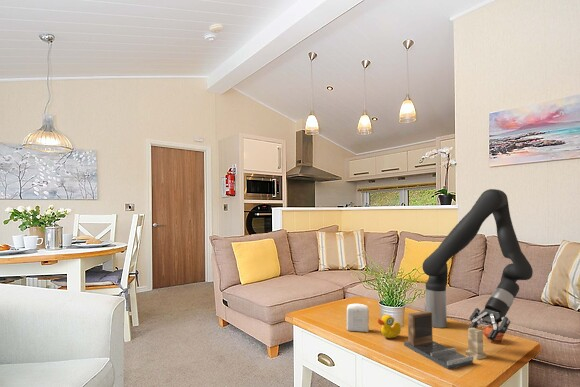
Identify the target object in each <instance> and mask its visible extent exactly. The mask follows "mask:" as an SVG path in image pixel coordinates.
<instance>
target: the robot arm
mask: <svg viewBox="0 0 580 387" xmlns="http://www.w3.org/2000/svg"><path fill="white" fill-rule="evenodd" d="M509 206H510V205H509V199H508V195H507V194H506V193H505V192H504V191H503V190H500V189H494V188H490V189H486V190H484V191H483V192H482V193H481V194H480V196H478V199H477V200H476V201H475V203H474V205H473V206H472V207H471V209H469V211H468V212H467V213H466V214H465V215H464V216H463V217H462V219H460V221H459V222H458V223H457V224H456V225H455V226H454V227H453V228H452V229H451V230H450V231H449V233H448V234H447V236H446V237H445V238H444V239H443V240H442V242H441V243H440V244H439V245H438V247H437V248H436V249H434V251H433V252H432V253H431V254H430V255H429V256H427V257H426V258H425V259H424V261H423V262H422V265H421V266H422V270H423V273H424V274H425V275H427V276H428V279H427V281H426V282H425V303H424V311H429V312H431V313H432V328H440V329H442V328H446V327H447V325H448V324H447V316H448V315H447V314H448V313H447V285H448V264H447V263H448V262H449V261H450V259H452V258H453V257H454V256H455V255H457V254H458V253H460V252H461V251H462V250H463V249H465V248H467V246H468V245H469V244H470V243H471V242H472V241H473V240H474V238H476V236H477V235H478V232H479V231H480V230H481V229H480V228H481V227H482V225H483V223H484V222H485V221H486V220H487V219H488V218H489V217H490V216H491V215H493V218H494V221H495V225H496V226H495V228H496V235H497V241H498V244H499V248H500V250H501V253H502V256H503V257H504V258H506V259H509V260H510V261H511V262H512V263H508V264H506V266H504V268H503V270H502V273H501V278H500V281H499V284H498V285H497V287H496V288H495V290H494V291H493V292H491V293H492V294H490V297H488V298H489V299H488V300H487V302H486V303H485V305H484V309H483V310H480V308H479V307H477V308H475V309H474V310H473V312H472V313H471V315H470V317H469V320H470V321H471V324H469V327H468V328H476V329H478V326H480V325H484V324H487V325H489V326H493V328H494V330H493V329H492V331H491V333H490V334H489V336H488V338H489V339H490V340H491V341H492V342H493V341H495V340H494V339H495V338H496V336H497V335H498V333H503V334H504V335H505V334H506V332H507V330H508V329H509V326H510V324H511V321H510V319H509V318H508V317H507V314H508V312H509V310H510V308H511V307H512V305H513V303H514V300H515V299H516V297H517V295H518V293H519V292H520V285H519V284H518V283H517V281H528V280H531V279H532V277H533V272H534V271H533V267H532V265H531V263H530V262H529V260H528V259H527V258H526V255H525V254H524V253H523V251H522V249H521V247H520V243H519V239H518V238H517V235H516V230H515V228H514V225H513V221H512V217H511V212H510V207H509ZM499 323H500V324H499ZM488 338H487V339H488ZM489 339H488V340H489ZM490 340H489V341H490Z"/></svg>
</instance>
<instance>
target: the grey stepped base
mask: <svg viewBox="0 0 580 387" xmlns="http://www.w3.org/2000/svg"><path fill="white" fill-rule="evenodd" d="M403 346H404V347H406V348H408V349H409V350H412V352H416V353H417V354H419V355H420V356H423V357H425V358H426V359H428V360H430V361H431V362H434V363H436V364H437V365H439V366H441V367H443V368H445V369H447V370H451V369H456V368H461V367H465V366H469V365H472V364H474V363H473V362H474V358H473V356H468V355H467V356H466V355H464V354H462V353H459V352H458V351H457V348H455V347H451V348H449V347H446V346H445V345H443V344H441V343H438V342H437V341H434V340H433V342H429V343H424V344H419V345H412V344H410V343H408V341H404V342H403Z"/></svg>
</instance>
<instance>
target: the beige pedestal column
mask: <svg viewBox="0 0 580 387" xmlns="http://www.w3.org/2000/svg"><path fill="white" fill-rule="evenodd" d="M483 337H484V334H483V330H481V329H478V328H469V327H468V329H467V340H468V341H467V342H468V349H467V350H465V356H466V355H467V357H468V356H473V359H475V360H481V359H485V358H487V353H486V352H484V338H483Z"/></svg>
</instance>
